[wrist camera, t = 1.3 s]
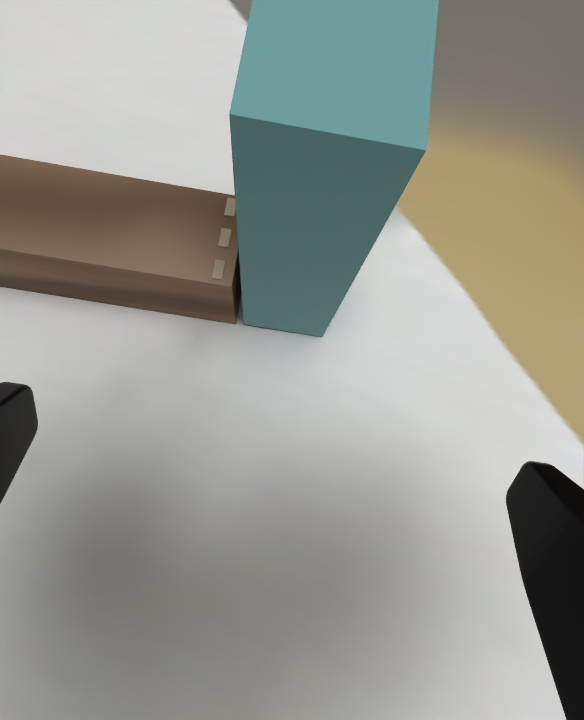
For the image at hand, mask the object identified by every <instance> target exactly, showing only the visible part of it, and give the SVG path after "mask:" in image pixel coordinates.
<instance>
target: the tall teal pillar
mask: <svg viewBox="0 0 584 720" xmlns="http://www.w3.org/2000/svg"><path fill="white" fill-rule="evenodd" d="M438 1H439V0H253V2H252V7H251V11H250V16H249V21H248V26H247V31H246V36H245V41H244V45H243V50H242V55H241V60H240V65H239V70H238V75H237V80H236V84H235V89H234V94H233V99H232V104H231V109H230V114H229V115H230V130H231V144H232V159H233V174H234V189H235V203H236V218H237V233H238V247H239V262H240V277H241V291H242V306H243V321H244V324H245V325H252V326H258V327H264V328H270V329H277V330H283V331H289V332H295V333H301V334H308V335H314V336H320V337H322V336H323V335H324V333H325V331H326V329H327V327H328V326H329V324H330V322H331V320H332V318H333V317H334V315H335V313H336V311H337V309H338V308H339V306H340V304H341V302H342V300H343V299H344V297H345V295H346V293H347V291H348V290H349V288H350V286H351V284H352V282H353V281H354V279H355V277H356V275H357V274H358V272H359V270H360V268H361V266H362V265H363V263H364V261H365V259H366V257H367V256H368V254H369V252H370V250H371V248H372V247H373V245H374V243H375V241H376V239H377V238H378V236H379V234H380V232H381V230H382V229H383V227H384V225H385V223H386V221H387V220H388V218H389V216H390V214H391V212H392V211H393V209H394V207H395V205H396V203H397V202H398V200H399V198H400V196H401V194H402V193H403V191H404V189H405V187H406V185H407V184H408V182H409V180H410V178H411V176H412V175H413V173H414V171H415V169H416V168H417V166H418V164H419V162H420V160H421V158H422V157H423V155H424V153H425V151H426V146H427V134H428V121H429V110H430V109H429V108H430V96H431V85H432V73H433V61H434V48H435V36H436V25H437V13H438Z"/></svg>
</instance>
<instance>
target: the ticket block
mask: <svg viewBox="0 0 584 720" xmlns="http://www.w3.org/2000/svg"><path fill="white" fill-rule="evenodd" d="M0 286H1V287H7V288H14V289H20V290H26V291H32V292H38V293H45V294H51V295H57V296H63V297H70V298H76V299H82V300H88V301H95V302H101V303H107V304H113V305H120V306H126V307H132V308H138V309H145V310H151V311H157V312H163V313H169V314H176V315H182V316H188V317H194V318H201V319H207V320H213V321H219V322H226V323H232V324H236V321H237V315H238V310H239V304H240V299H241V293H242V291H241V277H240V262H239V247H238V233H237V218H236V203H235V196H234V195H228V194H222V193H217V192H211V191H205V190H200V189H194V188H188V187H182V186H177V185H171V184H165V183H160V182H154V181H148V180H142V179H137V178H131V177H125V176H120V175H114V174H108V173H102V172H97V171H91V170H85V169H80V168H74V167H68V166H62V165H57V164H51V163H45V162H39V161H34V160H28V159H22V158H17V157H11V156H5V155H0Z"/></svg>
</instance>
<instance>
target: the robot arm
mask: <svg viewBox="0 0 584 720" xmlns="http://www.w3.org/2000/svg"><path fill="white" fill-rule="evenodd" d="M37 427H38V419H37V413H36V408H35V402H34V396H33V392H32V390H31V388H30V387H29V386H27V385H24V384H17V383H10V382H3V383H0V503H1V502H2V500H3V498H4V496H5V494H6V492H7V490H8V488H9V486H10V484H11V482H12V480H13V478H14V476H15V474H16V472H17V470H18V468H19V466H20V464H21V462H22V460H23V458H24V456H25V454H26V452H27V450H28V448H29V446H30V444H31V442H32V441H33V439H34V437H35V434H36V431H37ZM506 505H507V510H508V514H509V519H510V524H511V529H512V534H513V538H514V543H515V548H516V553H517V557H518V562H519V567H520V571H521V575H522V579H523V583H524V587H525V590H526V594H527V597H528V600H529V603H530V607H531V610H532V613H533V616H534V619H535V622H536V625H537V629H538V632H539V635H540V638H541V641H542V644H543V647H544V651H545V654H546V657H547V660H548V663H549V666H550V669H551V673H552V676H553V679H554V682H555V685H556V688H557V691H558V695H559V698H560V701H561V704H562V707H563V710H564V713H565V717H566V720H584V489H582V488H581V487H580V486H579V485H577V484H576V483H575V482H573V481H572V480H571V479H569V478H568V477H567V476H566V475H564V474H563V473H562V472H560V471H559V470H558V469H557V468H555V467H554V466H552V465H550V464H547V463H540V462H534V461H529V462H526V463H525V464H524V465H523V466H522V467H521V469H520V471H519V472H518V474H517V476H516V477H515V479H514V481H513V482H512V484H511V486H510V487H509V489H508V491H507V495H506Z"/></svg>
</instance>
